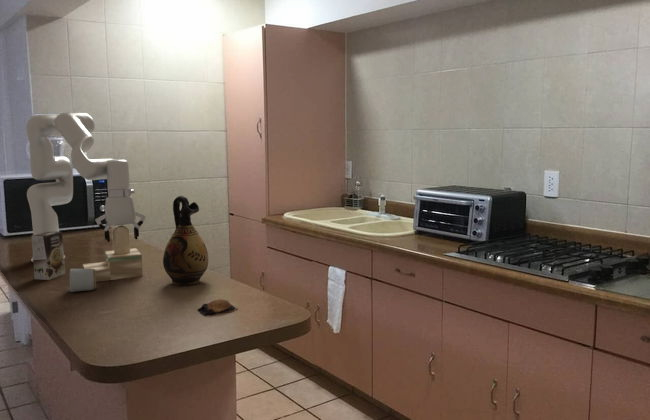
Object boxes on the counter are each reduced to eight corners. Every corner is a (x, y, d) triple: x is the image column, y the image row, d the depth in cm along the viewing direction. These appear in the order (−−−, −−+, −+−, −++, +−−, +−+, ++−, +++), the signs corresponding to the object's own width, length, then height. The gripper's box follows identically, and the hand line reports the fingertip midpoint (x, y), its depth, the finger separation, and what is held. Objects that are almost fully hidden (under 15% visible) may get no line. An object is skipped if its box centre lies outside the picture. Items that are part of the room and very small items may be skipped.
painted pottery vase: (218, 281, 199) (215, 196, 195) (180, 291, 188) (175, 201, 184) (190, 273, 211) (186, 192, 206) (153, 282, 200) (148, 197, 195)
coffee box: (49, 280, 204) (46, 235, 201) (34, 279, 205) (30, 235, 202) (66, 273, 212) (62, 231, 210) (51, 273, 214) (47, 230, 211)
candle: (116, 251, 212) (114, 225, 211) (131, 250, 213) (130, 224, 211) (112, 254, 207) (110, 227, 205) (128, 254, 207) (126, 227, 206)
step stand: (83, 274, 211) (82, 253, 210) (137, 268, 219) (135, 248, 218) (86, 283, 199) (84, 260, 198) (142, 276, 207) (141, 254, 206)
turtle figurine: (227, 305, 175) (227, 293, 174) (240, 312, 168) (239, 299, 167) (194, 311, 169) (194, 299, 168) (206, 319, 162) (205, 306, 161)
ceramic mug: (97, 291, 188) (95, 269, 187) (70, 294, 185) (68, 271, 184) (96, 284, 198) (95, 262, 197) (71, 287, 195) (69, 265, 194)
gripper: (142, 191, 214) (144, 236, 216) (92, 194, 206) (96, 240, 209) (145, 193, 207) (148, 239, 210) (94, 196, 199) (98, 244, 202)
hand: (122, 240), depth 209 cm, fingers open, 9 cm apart
